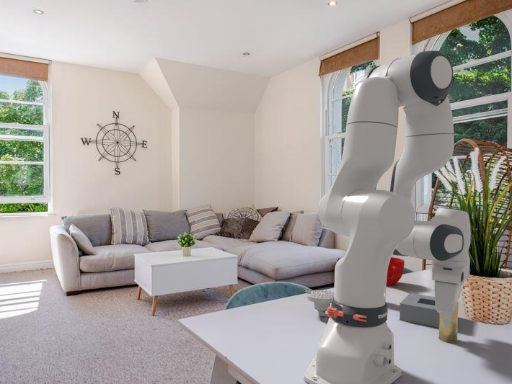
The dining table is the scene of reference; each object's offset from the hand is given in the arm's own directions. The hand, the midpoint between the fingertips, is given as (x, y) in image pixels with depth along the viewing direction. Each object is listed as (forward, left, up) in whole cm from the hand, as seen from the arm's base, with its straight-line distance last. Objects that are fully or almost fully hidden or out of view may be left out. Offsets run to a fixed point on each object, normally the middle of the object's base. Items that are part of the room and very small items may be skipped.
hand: (448, 322), depth 102 cm
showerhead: (-2, +35, -5) cm, 35 cm away
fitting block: (+15, +7, -5) cm, 17 cm away
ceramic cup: (+50, +28, -5) cm, 57 cm away
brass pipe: (0, 0, -5) cm, 5 cm away
